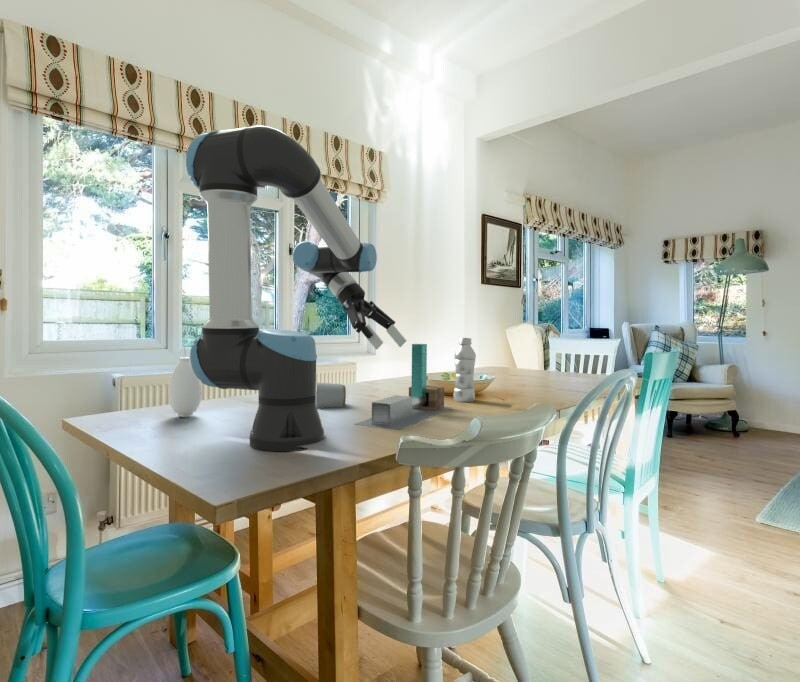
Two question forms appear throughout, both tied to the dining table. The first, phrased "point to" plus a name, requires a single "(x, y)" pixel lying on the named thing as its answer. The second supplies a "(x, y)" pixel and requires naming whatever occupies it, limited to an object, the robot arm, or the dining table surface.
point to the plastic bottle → (464, 371)
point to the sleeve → (391, 410)
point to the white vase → (184, 388)
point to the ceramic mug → (330, 395)
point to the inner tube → (419, 375)
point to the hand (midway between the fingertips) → (392, 344)
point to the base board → (416, 417)
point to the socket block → (432, 398)
